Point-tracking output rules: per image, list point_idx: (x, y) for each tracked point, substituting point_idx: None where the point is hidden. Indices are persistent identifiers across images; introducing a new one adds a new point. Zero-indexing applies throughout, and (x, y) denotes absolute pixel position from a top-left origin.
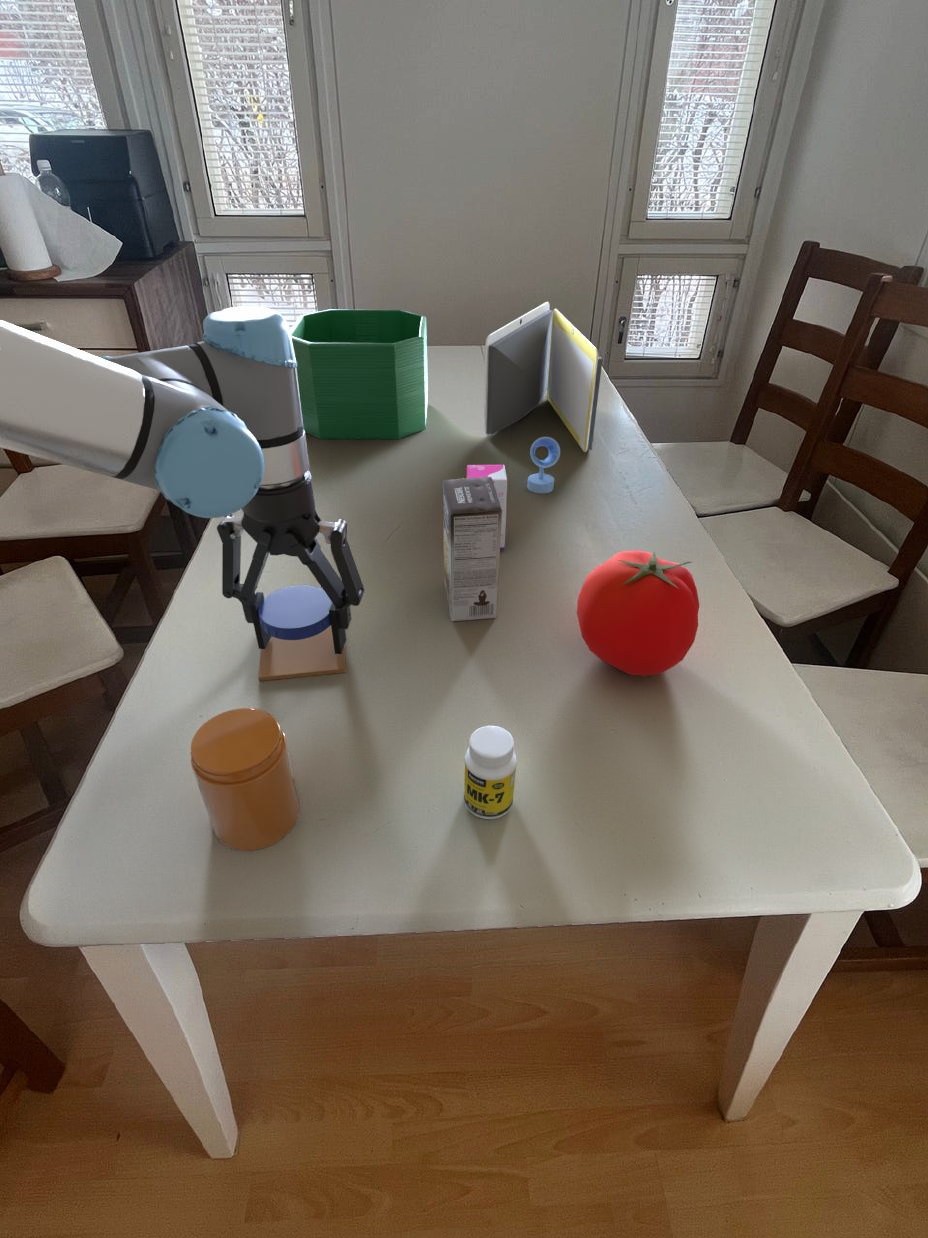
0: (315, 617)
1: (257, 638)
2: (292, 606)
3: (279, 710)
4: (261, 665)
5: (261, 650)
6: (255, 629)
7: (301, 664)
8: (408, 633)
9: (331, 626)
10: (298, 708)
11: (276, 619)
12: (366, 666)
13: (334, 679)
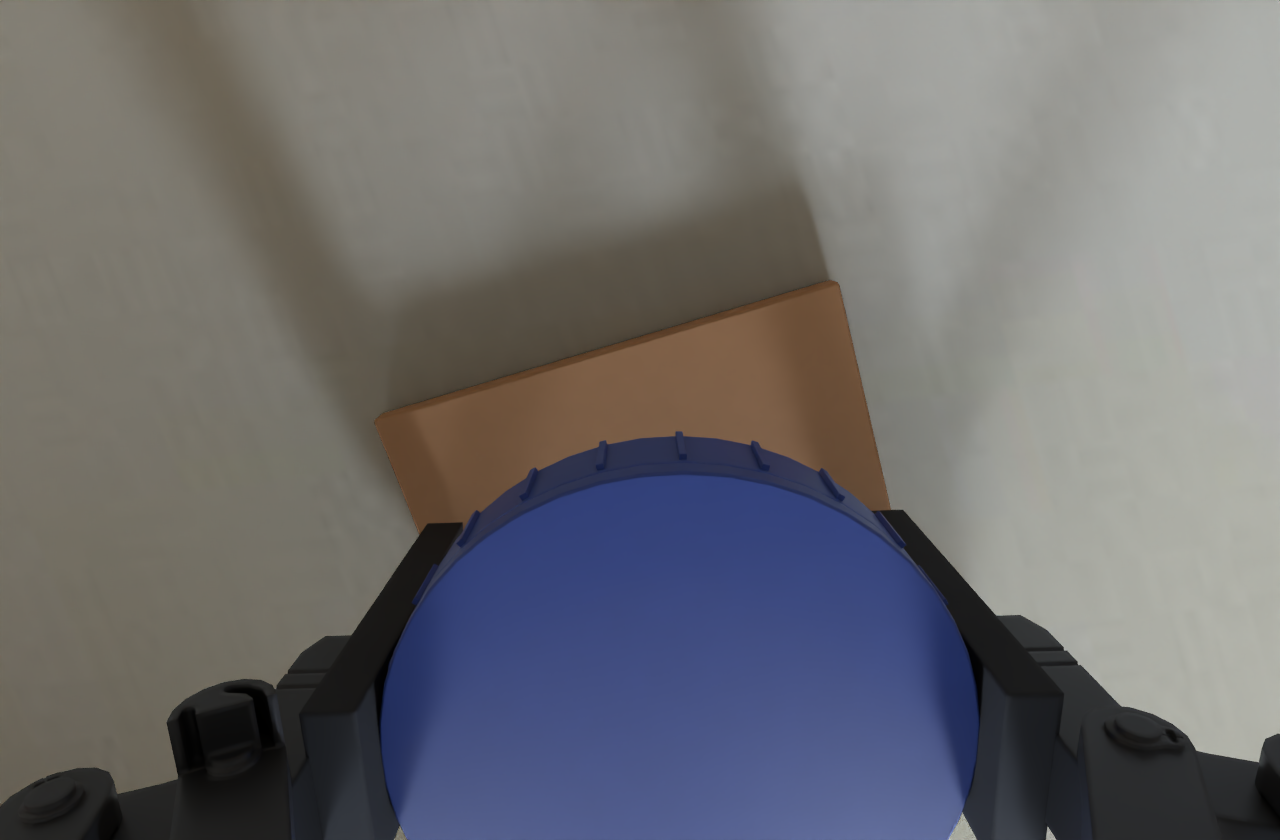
0: (470, 637)
1: (924, 541)
2: (706, 744)
3: (643, 58)
4: (850, 385)
5: (886, 505)
6: (952, 573)
7: (626, 422)
8: (169, 740)
9: (404, 621)
10: (541, 90)
11: (785, 576)
12: (290, 474)
13: (424, 352)
